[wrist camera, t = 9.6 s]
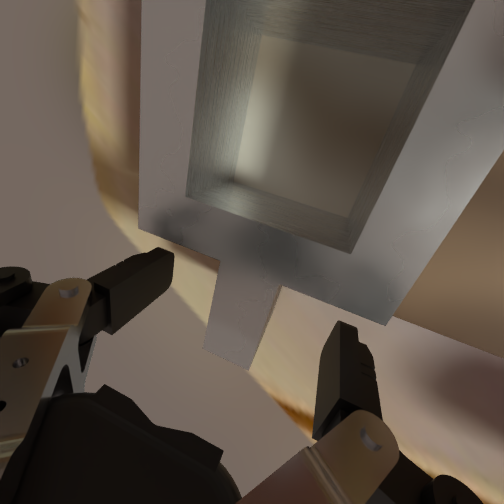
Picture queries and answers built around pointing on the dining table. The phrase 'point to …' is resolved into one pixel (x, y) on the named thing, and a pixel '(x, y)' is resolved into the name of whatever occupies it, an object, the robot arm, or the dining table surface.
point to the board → (356, 168)
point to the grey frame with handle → (292, 212)
